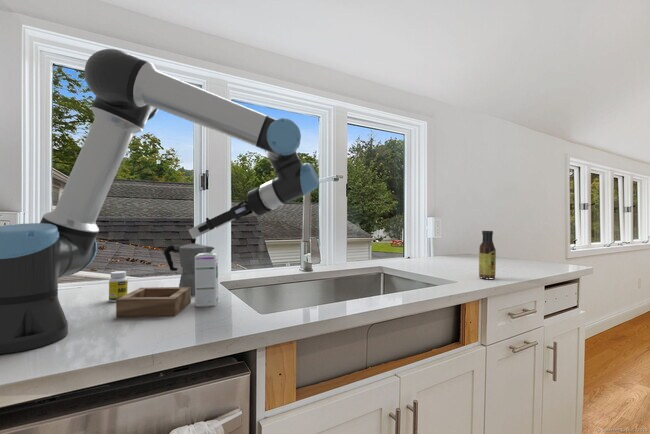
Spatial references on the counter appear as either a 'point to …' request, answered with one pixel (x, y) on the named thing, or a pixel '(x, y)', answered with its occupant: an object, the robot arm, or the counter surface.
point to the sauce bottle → (487, 256)
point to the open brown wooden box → (153, 302)
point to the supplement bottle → (117, 285)
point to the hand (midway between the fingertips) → (203, 229)
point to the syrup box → (206, 279)
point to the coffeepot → (187, 261)
